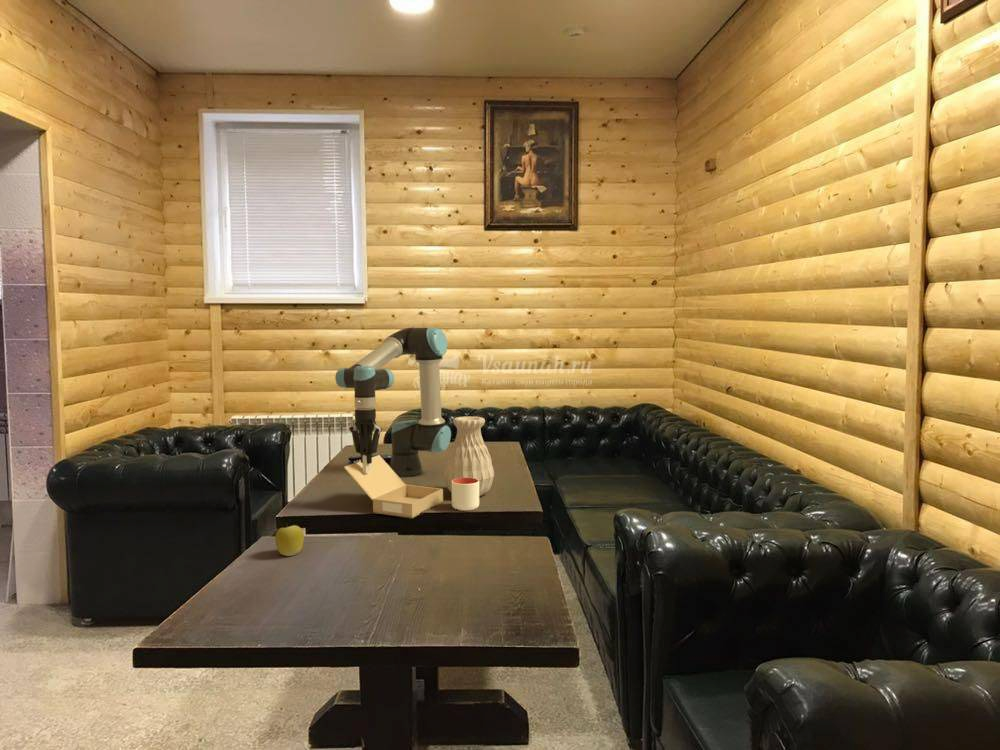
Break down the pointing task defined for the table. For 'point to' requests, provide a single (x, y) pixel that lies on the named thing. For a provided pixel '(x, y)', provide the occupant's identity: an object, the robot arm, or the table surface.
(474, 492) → the cup
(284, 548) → the apple
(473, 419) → the vase
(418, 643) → the table surface
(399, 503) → the box
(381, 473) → the lid
